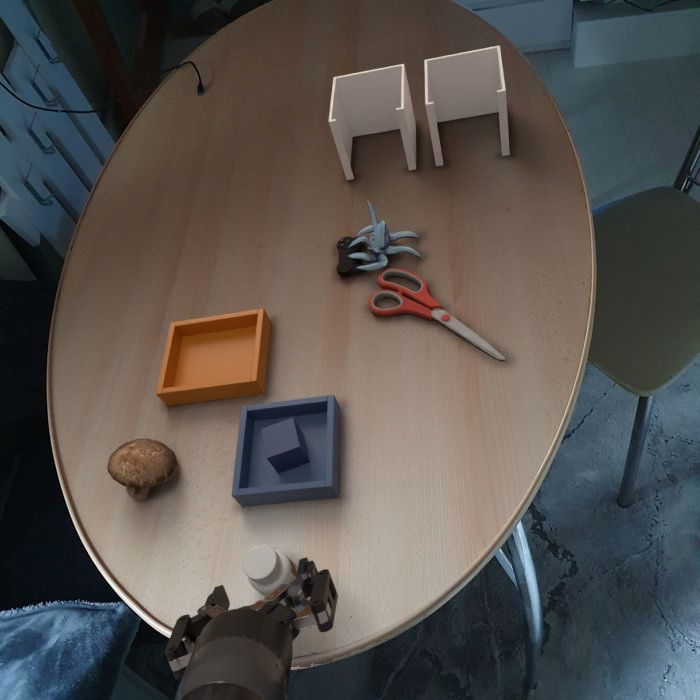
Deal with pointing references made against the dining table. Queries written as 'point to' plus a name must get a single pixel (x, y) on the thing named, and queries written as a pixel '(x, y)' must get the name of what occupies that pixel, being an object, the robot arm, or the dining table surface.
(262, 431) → the blue block
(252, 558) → the pill bottle
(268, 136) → the dining table surface
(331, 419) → the blue tray
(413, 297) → the scissors
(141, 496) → the mushroom
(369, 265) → the figurine
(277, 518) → the dining table surface
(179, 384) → the amber tray
